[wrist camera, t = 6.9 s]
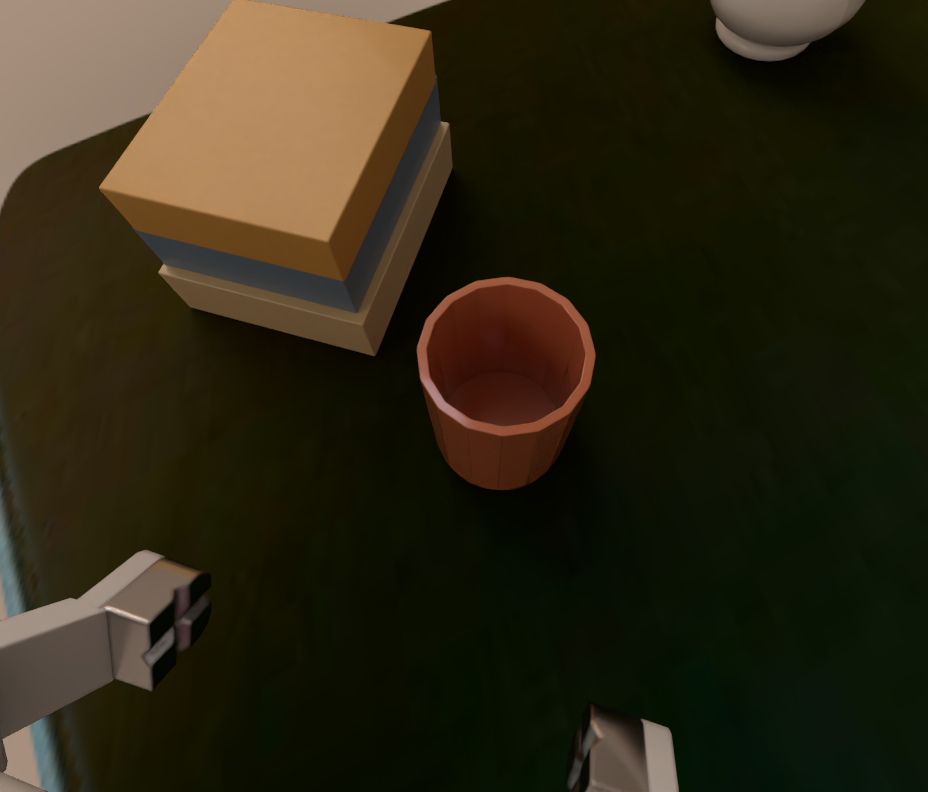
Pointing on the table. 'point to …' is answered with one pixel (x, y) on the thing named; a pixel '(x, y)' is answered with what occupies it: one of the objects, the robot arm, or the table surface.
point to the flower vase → (778, 24)
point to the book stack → (292, 171)
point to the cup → (504, 378)
